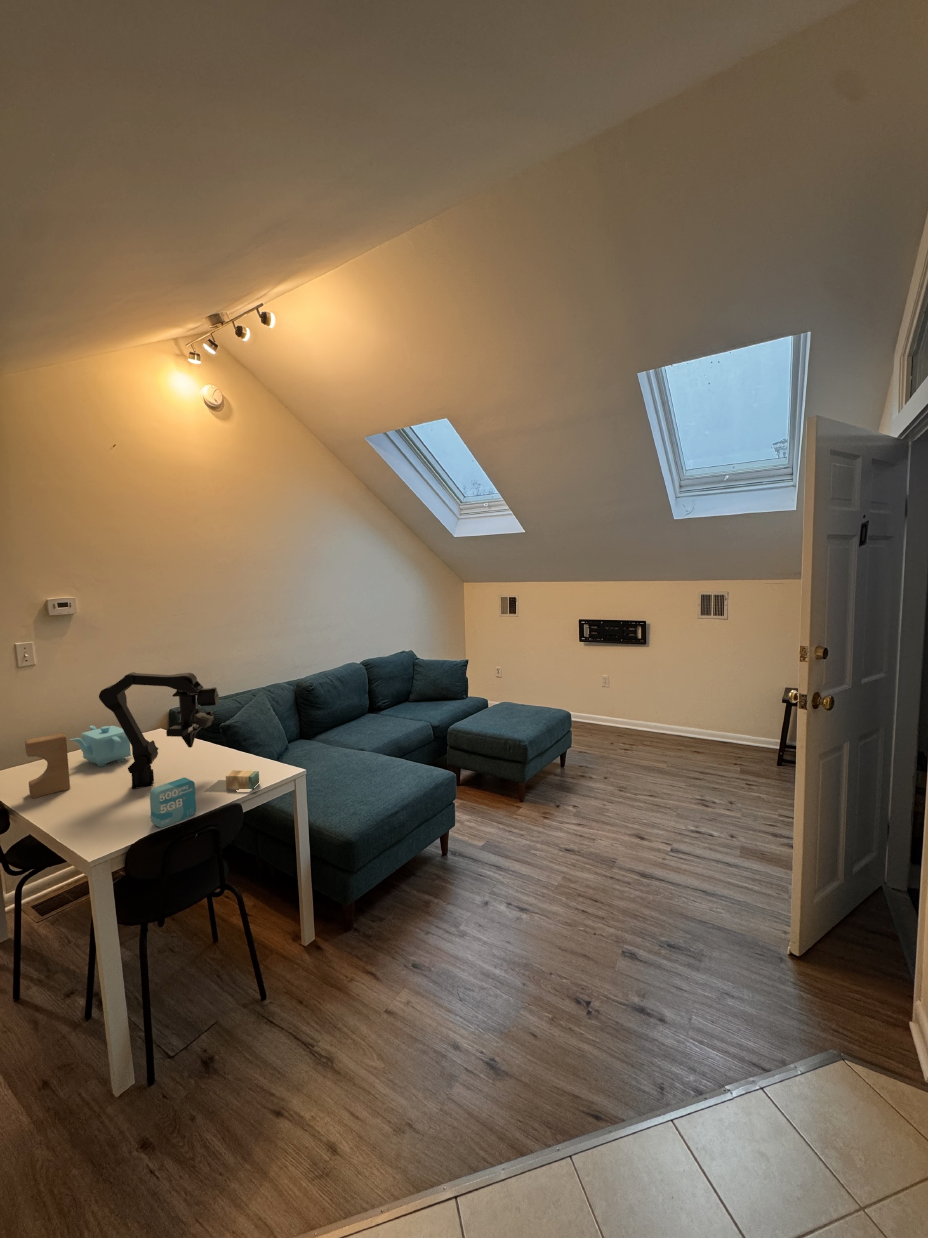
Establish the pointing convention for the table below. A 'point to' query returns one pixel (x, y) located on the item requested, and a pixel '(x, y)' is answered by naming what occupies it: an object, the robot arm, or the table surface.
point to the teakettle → (104, 745)
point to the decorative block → (49, 764)
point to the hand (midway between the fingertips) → (190, 747)
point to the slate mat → (220, 787)
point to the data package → (172, 802)
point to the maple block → (242, 779)
